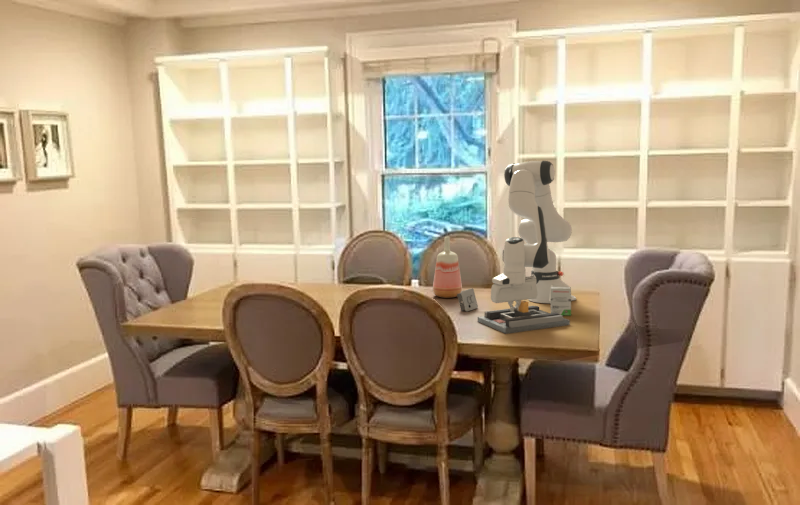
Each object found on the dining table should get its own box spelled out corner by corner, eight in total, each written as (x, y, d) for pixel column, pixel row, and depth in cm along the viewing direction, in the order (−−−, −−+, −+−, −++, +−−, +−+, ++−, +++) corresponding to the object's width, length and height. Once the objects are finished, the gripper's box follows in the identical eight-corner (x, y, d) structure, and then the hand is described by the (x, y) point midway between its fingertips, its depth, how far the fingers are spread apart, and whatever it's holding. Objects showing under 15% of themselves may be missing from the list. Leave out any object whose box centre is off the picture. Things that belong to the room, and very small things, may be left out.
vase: (467, 295, 332) (466, 236, 327) (453, 300, 320) (452, 239, 315) (441, 292, 339) (441, 234, 335) (427, 297, 327) (426, 237, 323)
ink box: (571, 313, 288) (571, 286, 287) (571, 315, 284) (571, 288, 282) (550, 312, 290) (550, 286, 289) (550, 315, 286) (550, 288, 284)
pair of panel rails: (533, 310, 287) (533, 304, 286) (563, 320, 267) (563, 314, 267) (484, 316, 278) (484, 310, 277) (511, 327, 258) (511, 321, 258)
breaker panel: (538, 313, 289) (538, 304, 288) (569, 324, 268) (569, 315, 268) (477, 321, 277) (477, 312, 277) (505, 333, 257) (505, 323, 257)
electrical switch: (467, 312, 295) (465, 291, 294) (457, 311, 298) (455, 291, 297) (478, 308, 302) (476, 288, 301) (468, 308, 305) (467, 288, 305)
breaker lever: (522, 316, 276) (522, 299, 275) (530, 319, 270) (530, 302, 269) (514, 317, 274) (514, 300, 273) (522, 320, 269) (522, 303, 268)
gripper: (531, 274, 276) (531, 307, 278) (488, 278, 268) (488, 312, 270) (540, 276, 270) (540, 310, 272) (496, 281, 262) (496, 315, 264)
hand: (514, 311), depth 271 cm, fingers closed
